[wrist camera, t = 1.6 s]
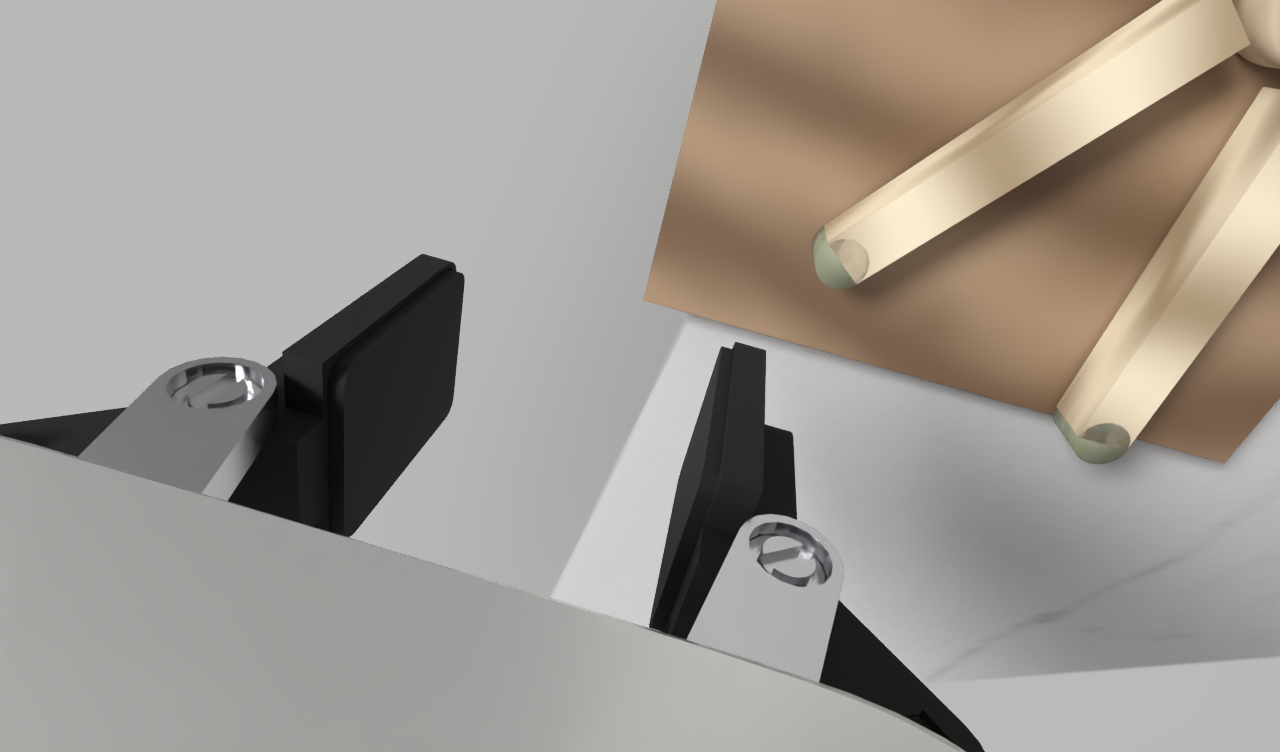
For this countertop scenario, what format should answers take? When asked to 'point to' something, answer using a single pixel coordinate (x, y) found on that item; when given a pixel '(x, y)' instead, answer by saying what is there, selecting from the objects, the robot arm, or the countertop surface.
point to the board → (974, 247)
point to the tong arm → (1045, 128)
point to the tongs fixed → (1181, 291)
